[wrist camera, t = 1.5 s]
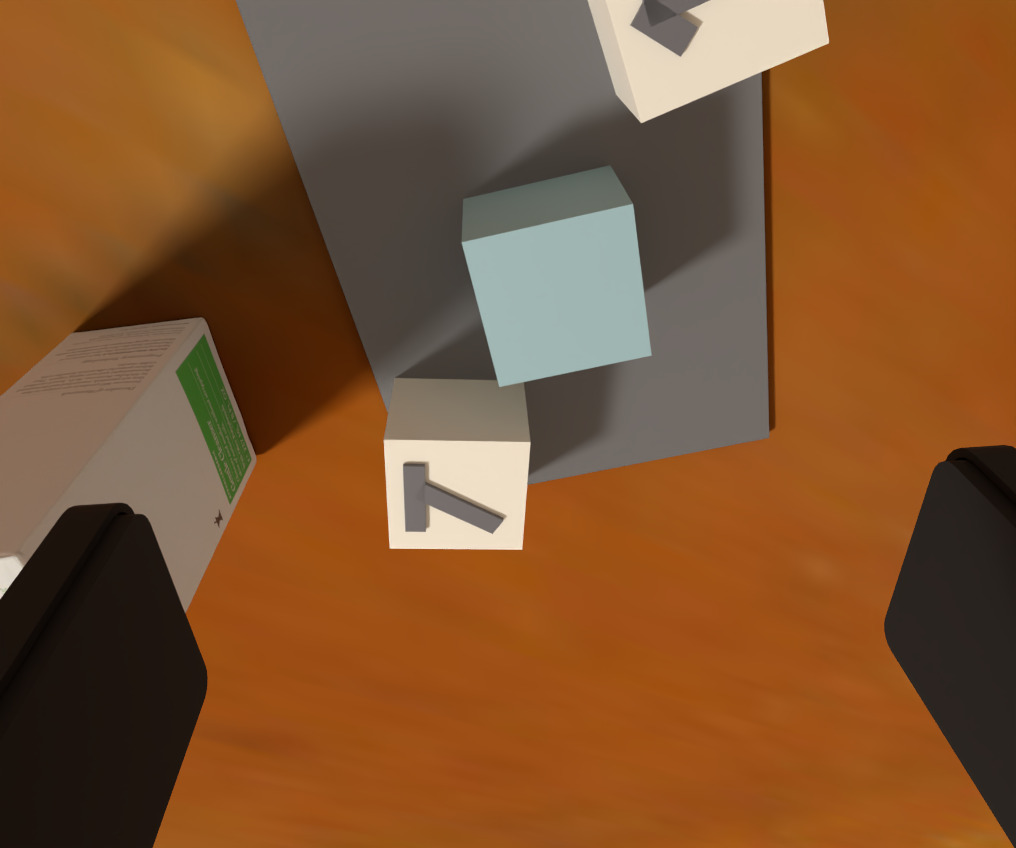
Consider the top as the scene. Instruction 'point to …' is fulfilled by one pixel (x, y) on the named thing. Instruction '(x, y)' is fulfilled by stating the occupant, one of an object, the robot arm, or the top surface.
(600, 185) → the plain block
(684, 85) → the digit block one
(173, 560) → the skincare box
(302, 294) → the top surface
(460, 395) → the digit block seven
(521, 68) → the mat
